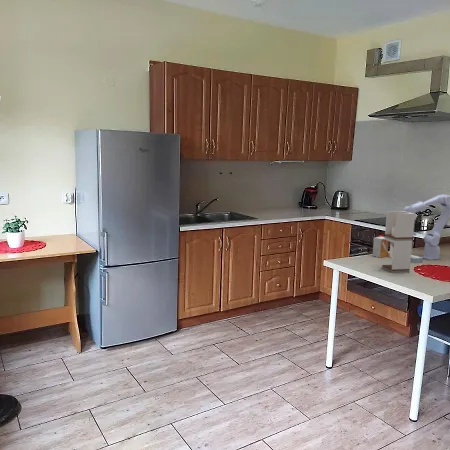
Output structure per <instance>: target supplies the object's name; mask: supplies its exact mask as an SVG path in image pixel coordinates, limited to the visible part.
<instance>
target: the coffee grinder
mask: <svg viewBox="0 0 450 450" xmlns="http://www.w3.org/2000/svg"><path fill="white" fill-rule="evenodd" d="M415 217H416V213H415V214H414V213H410V212H405V211H403V210H400V211H399V210H391V211H390V210H386V219H385V229H384V237H385V239H384V240H387V241H389V243H390V245H389V246H390V248H389V251H390V257H391V258H390V257H389V258H390V259H392V260H391V264H382V266H381V268H382V270H385V271H387V272H389V273H392V274H397V273H398V274H399V273H400V274H401V273H402V274H403V273H410V271H411V270H410V267H411V262H410V261H411V255H412V250H413V241H414V240H413V238H414V235H413V232H414V229H415Z"/></svg>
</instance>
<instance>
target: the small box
mask: <svg viewBox="0 0 450 450" xmlns="http://www.w3.org/2000/svg"><path fill="white" fill-rule="evenodd" d="M384 239H385V236H376V237H373V243H372V244H373V245H372V255H373V256H372V255H371V256H372V257H374V256H376V257H375V258H378V257H379V258H380V259H381V258H388V257H387V253H388V251H389V250H388V249H389V243H390V241H387V240H384ZM379 258H378V259H379Z"/></svg>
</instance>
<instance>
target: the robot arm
mask: <svg viewBox="0 0 450 450" xmlns="http://www.w3.org/2000/svg"><path fill="white" fill-rule="evenodd" d="M435 204H440V205H441V207H442V212H440V213H441V214H440V215H439V217H438V219H437V221H436V222H435V224H434V226H433V227H432V229H431V230H430V231H429V232H428V233H427V234H426V235H424V237H423V242H424V243H425V244H424V249H423V250H424V252H423V256H420V257H422V258H423V259H426V260H429V261H430V260H431V261H433V260H440V259H441V258H440V255H441V253H440V252H441V248H440V246H439V243H440V239H441V233H442V231H443V229H444V227H445V226H446V224H447V223H448V220H449V219H450V195H449V194H444V193H442V194H438V195H436V196H434V197H431V198H430V199H427V200H425V201H420V200H418V201H416V203H413V204H410V205H409V206H408V205H407V206H404V208H403V209H402V211H405V212H410V213H414V214H415V215H416V213H419V212H422V211H424V210H425V209H426V207H429V206H432V205H435ZM414 236H417V232H416V231H413V237H414Z"/></svg>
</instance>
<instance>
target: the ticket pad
mask: <svg viewBox="0 0 450 450" xmlns="http://www.w3.org/2000/svg"><path fill="white" fill-rule="evenodd" d="M423 260H424V258H422V257H421V256H418V255H414V254H411V261H410V263H413V264H420V263H423Z"/></svg>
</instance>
